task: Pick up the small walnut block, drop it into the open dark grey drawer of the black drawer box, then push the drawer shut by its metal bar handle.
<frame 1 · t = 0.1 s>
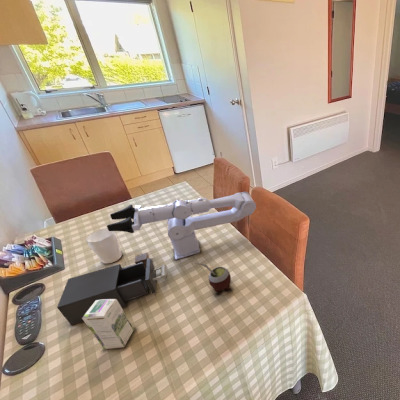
hand: (109, 222, 93), 22 cm above the table, tool horizontal, fingers open, 7 cm apart
black drawer box: (102, 301, 91), on the table
mate gourd: (221, 289, 94), on the table
dark grey drawer: (138, 279, 93), point 4 cm above the table, slide at 8.0 cm
cup: (112, 258, 109), on the table
block: (144, 265, 105), on the table
syrup box: (120, 339, 79), on the table
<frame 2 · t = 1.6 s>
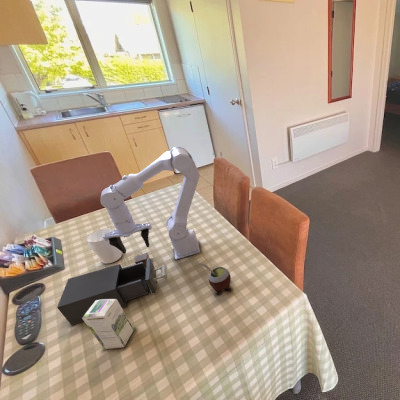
hand: (136, 248, 101), 8 cm above the table, tool pointing down, fingers open, 7 cm apart
nothing on the table moved.
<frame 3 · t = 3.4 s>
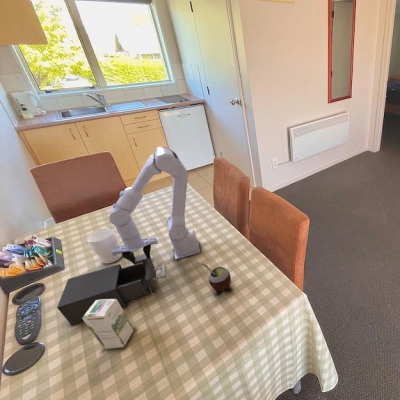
hand: (143, 262, 104), 1 cm above the table, tool pointing down, fingers closed on block, 4 cm apart
block: (144, 264, 105), on the table, touching gripper
everything else where it was.
when the fingers open (5 cm above the table, at t = 7.6 s): block drops 2 cm, resting on dark grey drawer.
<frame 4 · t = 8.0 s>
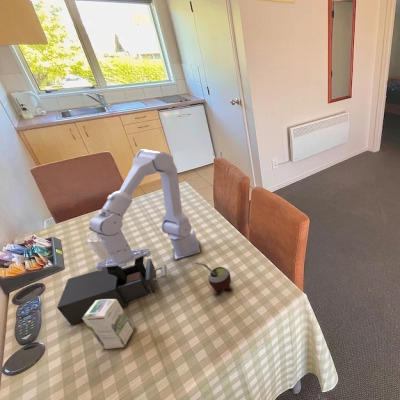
hand: (134, 276, 92), 6 cm above the table, tool pointing down, fingers open, 5 cm apart
dark grey drawer: (138, 279, 93), point 4 cm above the table, slide at 8.0 cm, touching block
block: (137, 285, 94), point 2 cm above the table, touching dark grey drawer
everything else where it was.
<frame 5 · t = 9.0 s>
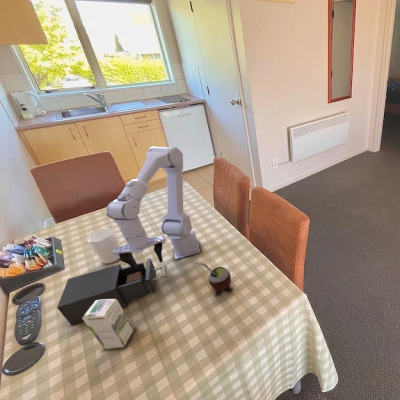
hand: (149, 264, 92), 9 cm above the table, tool pointing down, fingers open, 7 cm apart
nothing on the table moved.
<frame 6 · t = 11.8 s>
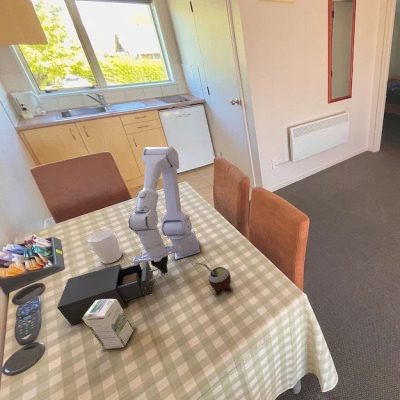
hand: (165, 271, 96), 4 cm above the table, tool pointing down, fingers closed
dark grey drawer: (134, 280, 93), point 4 cm above the table, slide at 6.9 cm, touching block, gripper
block: (133, 286, 93), point 2 cm above the table, touching dark grey drawer
everything else where it was.
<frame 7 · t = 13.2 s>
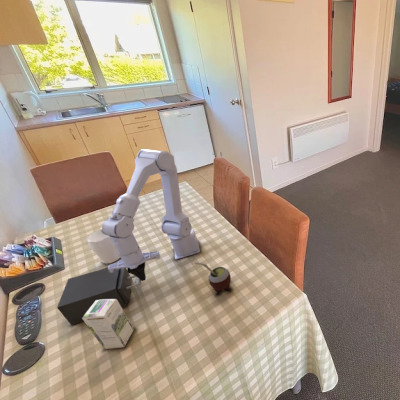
hand: (143, 278, 94), 4 cm above the table, tool pointing down, fingers closed, pressing on dark grey drawer
dark grey drawer: (111, 288, 90), point 4 cm above the table, slide at 0.0 cm, touching black drawer box, block, gripper
block: (110, 293, 91), point 2 cm above the table, touching dark grey drawer
everything else where it was.
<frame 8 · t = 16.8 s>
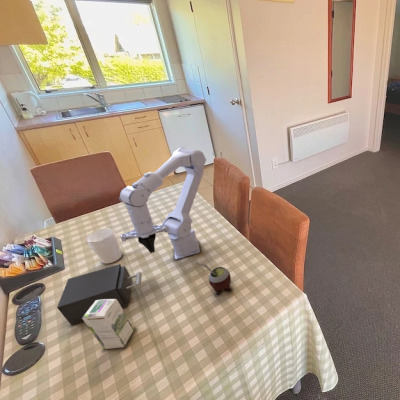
hand: (152, 251, 98), 9 cm above the table, tool pointing down, fingers closed
dark grey drawer: (111, 288, 90), point 4 cm above the table, slide at 0.0 cm, touching block
everything else where it was.
at the end: block inside the target area in the black drawer box (2.9 cm from its centre), point 2.0 cm above the black drawer box's base; dark grey drawer slide at 0.0 cm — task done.
